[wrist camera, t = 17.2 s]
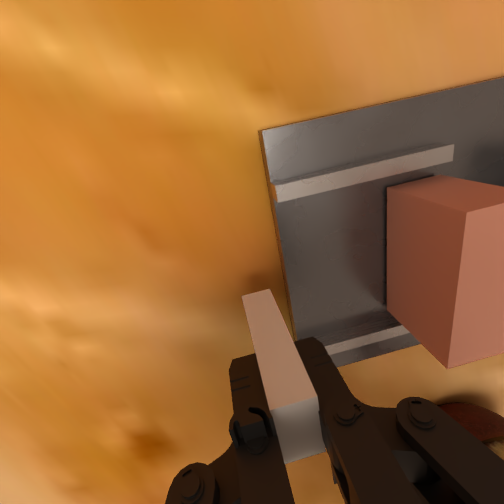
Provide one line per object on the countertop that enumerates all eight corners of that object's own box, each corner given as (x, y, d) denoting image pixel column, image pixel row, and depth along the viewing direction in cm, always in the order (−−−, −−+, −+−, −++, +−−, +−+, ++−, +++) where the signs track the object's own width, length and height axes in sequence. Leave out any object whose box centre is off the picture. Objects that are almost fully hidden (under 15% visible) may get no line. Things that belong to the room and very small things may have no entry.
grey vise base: (299, 365, 21) (333, 450, 15) (258, 130, 14) (293, 131, 9) (571, 289, 22) (691, 342, 17) (650, 43, 15) (893, -3, 10)
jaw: (386, 309, 18) (447, 369, 14) (386, 187, 15) (466, 212, 10) (430, 298, 19) (503, 352, 14) (439, 174, 15) (540, 193, 11)
